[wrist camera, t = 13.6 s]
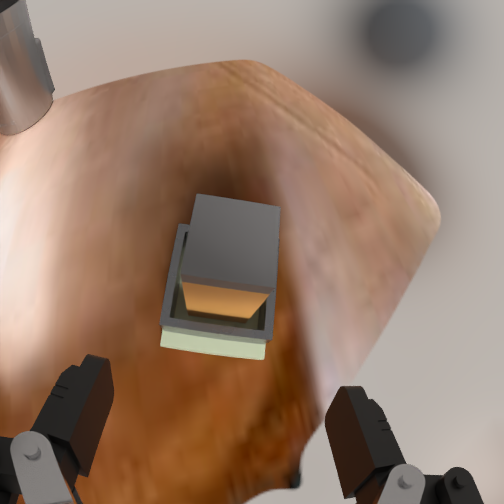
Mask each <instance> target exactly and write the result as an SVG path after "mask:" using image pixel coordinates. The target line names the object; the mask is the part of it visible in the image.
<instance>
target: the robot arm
mask: <svg viewBox="0 0 504 504" xmlns="http://www.w3.org/2000/svg"><path fill="white" fill-rule="evenodd" d="M54 90H55V88H54V85H53V82H52V79H51V76H50V73H49V70H48V66H47V63H46V60H45V56H44V52H43V48H42V46H41V41H40V39H39V38H34V34H33V31H32V26H31V22H30V18H29V14H28V9H27V5H26V0H0V133H1V134H3V135H14V134H17V133H20V132H22V131H24V130H26V129H27V128H29V127H31V126H32V125H33V124H35V123H36V122H37V121H38V120H39V119H41V118H42V117H43V116H44V114H45V113H46V112H47V111H48V109H49V108H50V106H51V104H52V100H53V98H52V93H53V92H54ZM113 398H114V386H113V380H112V373H111V367H110V361H109V359H107V358H102V357H98V356H94V355H90V354H87V355H86V357H85V358H84V360H83V362H82V364H81V365H80V367H79V366H75V365H71V366H70V367H69V368H68V369H66V370H65V371H64V372H62V373H61V375H60V377H59V379H58V380H57V382H56V385H55V386H54V387H53V389H52V391H51V394H50V395H49V396H48V398H47V400H46V402H45V404H44V406H43V408H42V410H41V411H40V413H39V415H38V417H37V419H36V421H35V423H34V425H33V427H32V428H31V430H30V431H26V432H22V433H20V434H18V435H17V436H16V437H15V438H7V437H1V436H0V504H16V503H17V500H18V496H19V494H22V495H23V497H24V500H25V503H26V504H84V502H83V500H82V498H81V496H80V494H79V491H78V489H77V487H76V485H75V482H76V479H77V476H78V474H79V475H82V476H85V477H88V475H89V472H90V469H91V465H92V462H93V459H94V456H95V453H96V450H97V447H98V444H99V441H100V438H101V435H102V432H103V429H104V426H105V423H106V420H107V417H108V414H109V412H110V409H111V406H112V403H113ZM325 428H326V432H327V435H328V439H329V443H330V447H331V450H332V454H333V458H334V462H335V465H336V469H337V472H338V477H339V480H340V484H341V488H342V492H343V496H344V499H347V498H353V497H356V501H357V503H356V504H484V503H483V501H482V499H481V496H480V493H479V491H478V489H477V486H476V484H475V482H474V480H473V477H472V476H471V474H470V473H469V472H468V471H467V470H465V469H464V468H461V467H454V468H451V469H450V470H449V471H448V472H446V473H445V474H444V475H424V474H423V473H422V472H421V471H420V470H419V469H418V468H417V467H415V466H413V465H409V464H407V463H406V462H405V460H404V457H403V455H402V453H401V450H400V448H399V446H398V443H397V441H396V439H395V437H394V434H393V432H392V431H391V427H390V425H389V423H388V422H387V419H386V416H385V414H384V412H383V410H382V408H381V407H380V406H379V405H378V404H377V403H376V402H375V401H374V400H373V399H368V397H367V395H366V393H365V390H364V389H363V388H362V387H361V386H342V387H340V388H339V390H338V391H337V393H336V395H335V397H334V399H333V401H332V403H331V405H330V407H329V409H328V411H327V413H326V416H325Z"/></svg>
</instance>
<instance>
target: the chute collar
mask: <svg viewBox="0 0 504 504" xmlns="http://www.w3.org/2000/svg"><path fill="white" fill-rule="evenodd" d="M189 227H190V225H187V224H180V223H179V225H178V230H177V235H176V239H175V244H174V249H173V253H172V258H171V263H170V268H169V273H168V279H167V284H166V289H165V295H164V301H163V306H162V312H161V318H160V324H159V325H160V326H161V327H162V329H163V330H164V331H168V332H173V333H180V334H186V335H192V336H199V337H206V338H213V339H220V340H228V341H236V342H244V343H253V344H263V345H264V344H266V343H268V342H270V341H271V340H272V336H273V323H274V311H275V297H276V285H275V289H274V290H273V291H272V292H271V294H270V295H269V296H268V297H267V298H266V300H265V301H264V302H263V303H262V304H261V306H260V307H259V316H258V327H257V330H254V329H245V328H237V327H229V326H222V325H215V324H208V323H201V322H194V321H188V320H181V319H175V318H174V316H175V310H176V303H177V297H178V291H179V286H180V280H181V268H182V263H183V258H184V252H185V247H186V242H187V237H188V232H189ZM278 254H279V240H278ZM277 269H278V256H277ZM276 283H277V270H276Z"/></svg>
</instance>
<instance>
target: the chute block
mask: <svg viewBox="0 0 504 504" xmlns="http://www.w3.org/2000/svg"><path fill="white" fill-rule="evenodd" d="M279 224H280V207H278V206H272V205H266V204H261V203H255V202H249V201H243V200H236V199H230V198H224V197H217V196H211V195H204V194H197V195H196V199H195V204H194V208H193V213H192V218H191V222H190V227H189V232H188V237H187V242H186V247H185V252H184V258H183V263H182V268H181V280H182V286H183V291H184V297H185V302H186V307H187V313H188V315H189V316H196V317H203V318H209V319H216V320H224V321H231V322H239V323H246V322H247V321H248V320H249V319H250V317H251V316H252V315H253V314H254V313H255V312H256V310H257V309H258V308H259V307H260V306H261V304H262V303H263V302H264V301H265V300H266V298H267V297H268V296H269V295H270V294H271V292H272V291H273V290H274V289H275V285H276V270H277V256H278V240H279Z"/></svg>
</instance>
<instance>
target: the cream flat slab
mask: <svg viewBox="0 0 504 504" xmlns="http://www.w3.org/2000/svg"><path fill="white" fill-rule="evenodd" d="M258 316H259V308H258V309H257V310H256V312H255V313H254V314H253V315H252V316H251V317H250V319H249V320H248V321H247V322H246V323H239V322H231V321H224V320H216V319H209V318H203V317H196V316H189V315H188V313H187V307H186V302H185V297H184V291H183V286H182V280H180V286H179V291H178V297H177V303H176V310H175V316H174V318H175V319H181V320H188V321H194V322H201V323H208V324H215V325H222V326H229V327H237V328H245V329H254V330H257V327H258ZM160 345H161V346H162V347H167V348H173V349H179V350H185V351H192V352H199V353H206V354H213V355H221V356H229V357H237V358H246V359H256V360H263V359H264V355H265V344H264V345H263V344H253V343H244V342H236V341H228V340H220V339H213V338H206V337H199V336H192V335H186V334H180V333H173V332H168V331H164V330H163V331H162V337H161V344H160Z"/></svg>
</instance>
